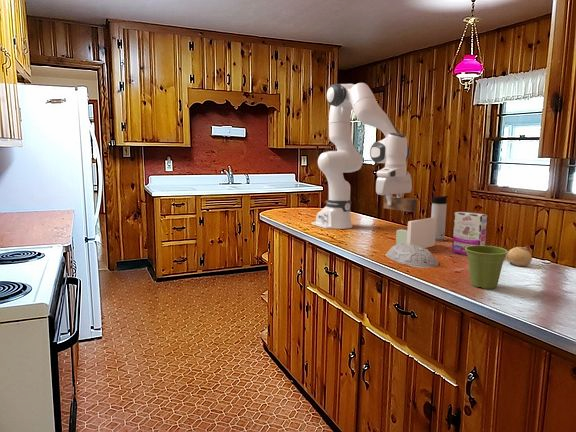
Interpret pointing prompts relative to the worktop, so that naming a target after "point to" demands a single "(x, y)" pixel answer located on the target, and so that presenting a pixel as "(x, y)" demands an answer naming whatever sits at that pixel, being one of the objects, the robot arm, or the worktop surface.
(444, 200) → the travel mug
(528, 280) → the worktop surface
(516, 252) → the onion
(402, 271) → the worktop surface
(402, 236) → the post block
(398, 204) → the rail
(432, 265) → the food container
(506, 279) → the worktop surface
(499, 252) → the plant pot
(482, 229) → the candy bar box
